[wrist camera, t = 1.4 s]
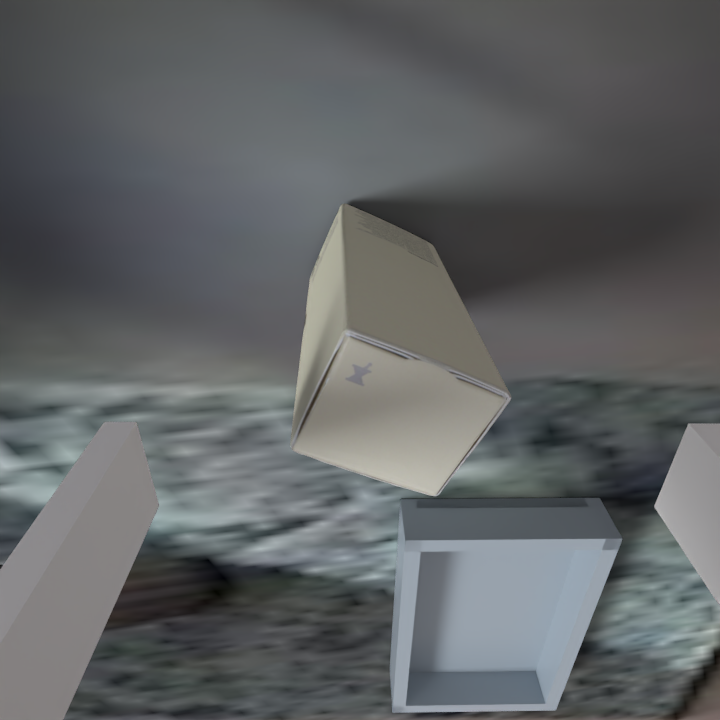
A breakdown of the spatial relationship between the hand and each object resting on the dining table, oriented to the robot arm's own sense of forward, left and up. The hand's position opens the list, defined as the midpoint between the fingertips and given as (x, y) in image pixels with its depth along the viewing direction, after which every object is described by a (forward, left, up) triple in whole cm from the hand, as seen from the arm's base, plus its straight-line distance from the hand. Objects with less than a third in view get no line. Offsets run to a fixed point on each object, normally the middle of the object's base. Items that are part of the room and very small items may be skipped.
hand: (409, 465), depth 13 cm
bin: (+8, -26, -14) cm, 31 cm away
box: (0, 0, -15) cm, 15 cm away
